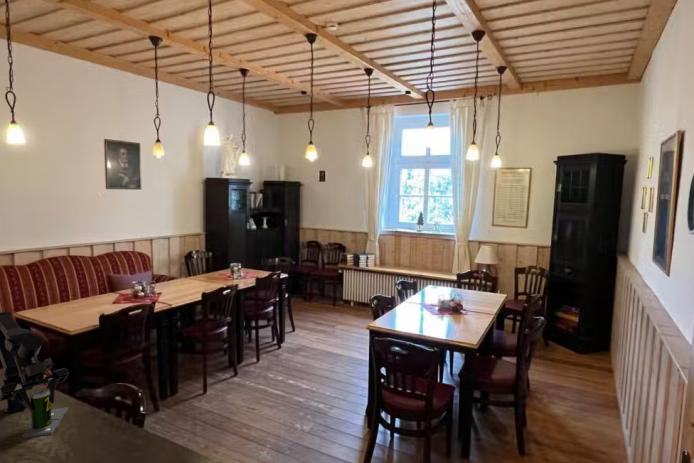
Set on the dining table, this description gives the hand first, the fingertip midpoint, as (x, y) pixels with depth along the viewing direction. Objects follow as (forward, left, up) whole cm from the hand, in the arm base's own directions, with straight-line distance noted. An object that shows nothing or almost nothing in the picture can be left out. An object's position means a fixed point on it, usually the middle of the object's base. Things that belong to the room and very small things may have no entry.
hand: (42, 406), depth 138 cm
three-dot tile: (-1, -1, -8) cm, 8 cm away
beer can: (-1, -1, -8) cm, 8 cm away
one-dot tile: (-10, -1, -8) cm, 13 cm away
